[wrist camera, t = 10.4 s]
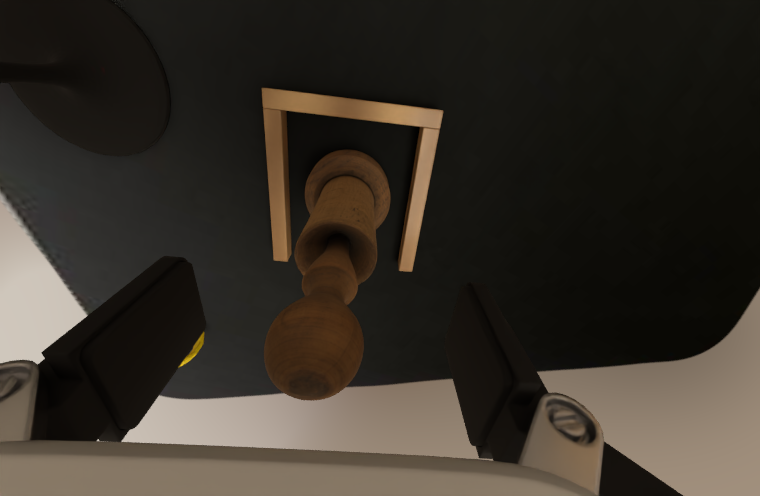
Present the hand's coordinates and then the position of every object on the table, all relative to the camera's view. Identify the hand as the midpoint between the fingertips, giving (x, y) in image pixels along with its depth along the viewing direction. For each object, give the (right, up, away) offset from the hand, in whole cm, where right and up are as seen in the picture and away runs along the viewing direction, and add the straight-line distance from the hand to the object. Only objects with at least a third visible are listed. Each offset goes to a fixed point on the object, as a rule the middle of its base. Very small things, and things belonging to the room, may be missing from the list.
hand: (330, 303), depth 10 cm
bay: (-1, +6, +14) cm, 15 cm away
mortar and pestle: (-1, +7, +14) cm, 15 cm away
